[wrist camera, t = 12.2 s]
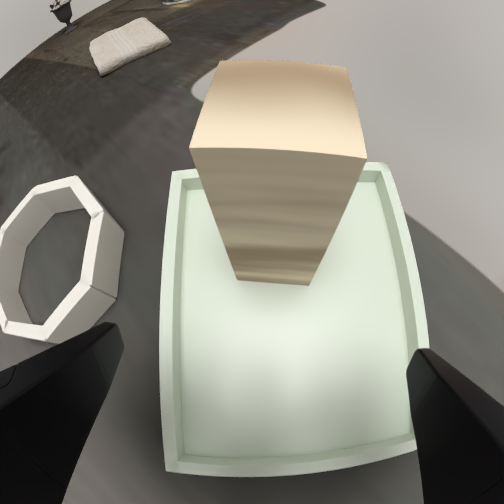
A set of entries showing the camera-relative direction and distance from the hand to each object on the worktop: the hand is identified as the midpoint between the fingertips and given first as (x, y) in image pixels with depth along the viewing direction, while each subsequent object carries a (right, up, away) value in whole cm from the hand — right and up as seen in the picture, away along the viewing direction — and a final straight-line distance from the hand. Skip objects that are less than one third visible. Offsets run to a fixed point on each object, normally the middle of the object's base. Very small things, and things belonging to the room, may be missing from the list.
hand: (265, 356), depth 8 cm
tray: (+2, -1, +10) cm, 11 cm away
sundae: (-51, +66, +40) cm, 93 cm away
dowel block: (+1, +3, +11) cm, 11 cm away
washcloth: (-22, +37, +28) cm, 51 cm away
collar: (-17, +2, +13) cm, 21 cm away
